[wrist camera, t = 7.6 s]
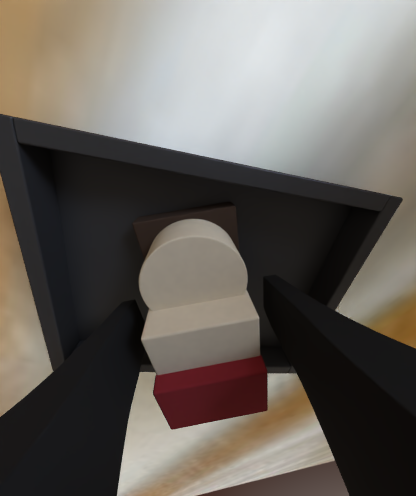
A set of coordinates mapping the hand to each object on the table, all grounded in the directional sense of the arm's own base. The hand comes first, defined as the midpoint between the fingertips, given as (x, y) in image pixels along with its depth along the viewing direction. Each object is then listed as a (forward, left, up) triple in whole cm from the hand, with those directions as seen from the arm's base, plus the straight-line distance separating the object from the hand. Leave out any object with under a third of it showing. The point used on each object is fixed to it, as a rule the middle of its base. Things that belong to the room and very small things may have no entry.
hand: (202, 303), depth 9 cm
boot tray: (0, 0, -2) cm, 2 cm away
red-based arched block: (0, 0, -1) cm, 1 cm away
